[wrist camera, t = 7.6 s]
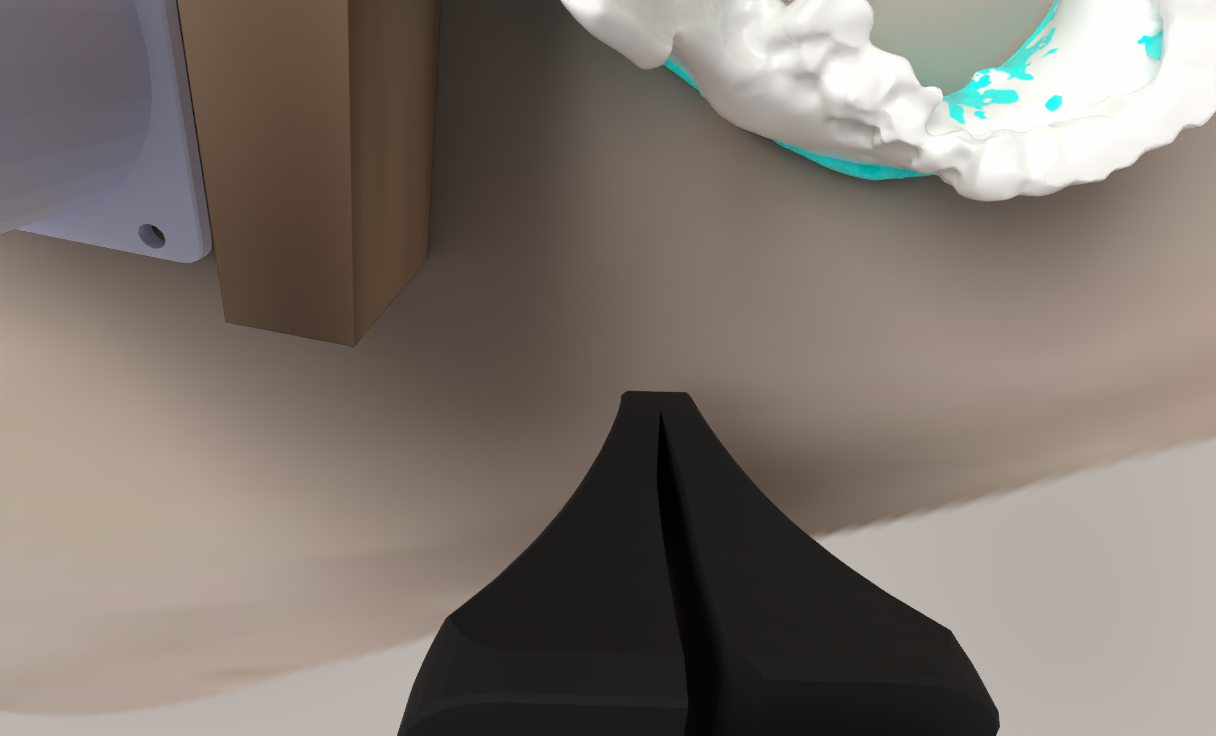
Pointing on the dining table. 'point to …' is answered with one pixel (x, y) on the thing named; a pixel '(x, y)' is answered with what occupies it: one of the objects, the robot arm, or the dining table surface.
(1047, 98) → the jawbone
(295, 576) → the dining table surface
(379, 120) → the cleat board
